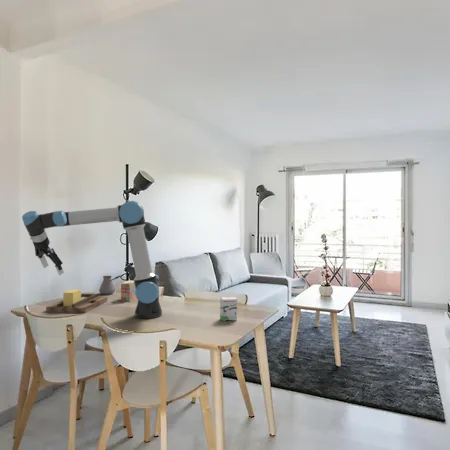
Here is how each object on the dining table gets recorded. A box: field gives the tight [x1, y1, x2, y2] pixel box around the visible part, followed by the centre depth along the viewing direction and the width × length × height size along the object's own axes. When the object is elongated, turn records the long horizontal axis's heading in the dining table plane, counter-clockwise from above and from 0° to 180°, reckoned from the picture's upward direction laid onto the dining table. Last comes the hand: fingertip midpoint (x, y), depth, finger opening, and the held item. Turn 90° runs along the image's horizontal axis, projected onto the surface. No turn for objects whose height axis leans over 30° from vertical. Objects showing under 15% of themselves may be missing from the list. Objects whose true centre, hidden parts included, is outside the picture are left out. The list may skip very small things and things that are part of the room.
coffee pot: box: [98, 274, 124, 296], centre depth 278 cm, size 21×12×15 cm, turn 58°
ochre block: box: [62, 289, 82, 306], centre depth 231 cm, size 6×10×8 cm, turn 175°
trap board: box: [45, 293, 108, 314], centre depth 239 cm, size 24×32×5 cm
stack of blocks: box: [120, 279, 137, 303], centre depth 264 cm, size 21×6×12 cm, turn 169°
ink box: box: [219, 296, 238, 322], centre depth 208 cm, size 9×5×12 cm, turn 103°
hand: (53, 270), depth 211 cm, fingers open, 13 cm apart
